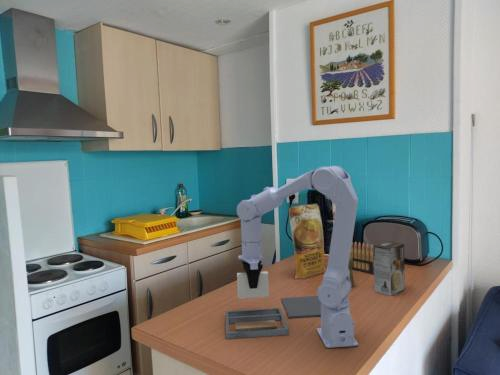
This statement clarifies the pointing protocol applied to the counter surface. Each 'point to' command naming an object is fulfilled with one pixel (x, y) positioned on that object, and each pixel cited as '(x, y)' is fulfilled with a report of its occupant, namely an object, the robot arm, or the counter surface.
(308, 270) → the pancake mix bag
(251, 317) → the rack
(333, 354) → the counter surface
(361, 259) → the ammunition clip
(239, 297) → the gray rectangular block
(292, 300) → the mat
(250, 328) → the offcut stack
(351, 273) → the olive pawn
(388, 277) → the coffee box
